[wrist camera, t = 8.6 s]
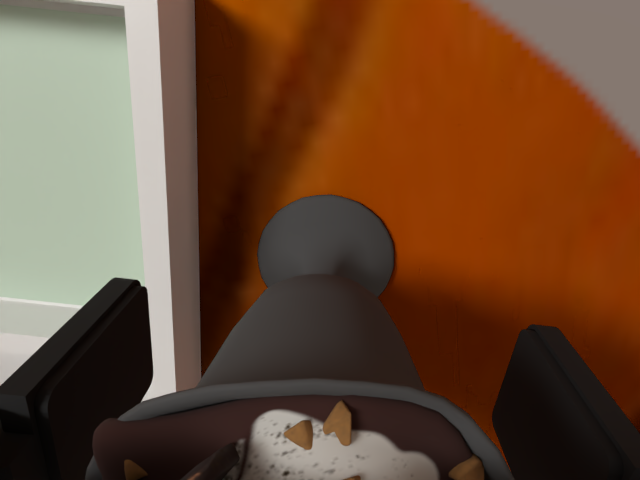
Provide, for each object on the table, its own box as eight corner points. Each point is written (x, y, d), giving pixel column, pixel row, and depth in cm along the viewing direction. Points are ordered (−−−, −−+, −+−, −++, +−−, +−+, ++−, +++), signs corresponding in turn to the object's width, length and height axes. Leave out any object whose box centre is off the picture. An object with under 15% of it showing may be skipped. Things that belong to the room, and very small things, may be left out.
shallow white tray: (-29, 479, 21) (-79, 537, 19) (-203, -55, 12) (-343, -82, 10) (203, 505, 21) (184, 566, 19) (194, -13, 12) (155, -31, 10)
